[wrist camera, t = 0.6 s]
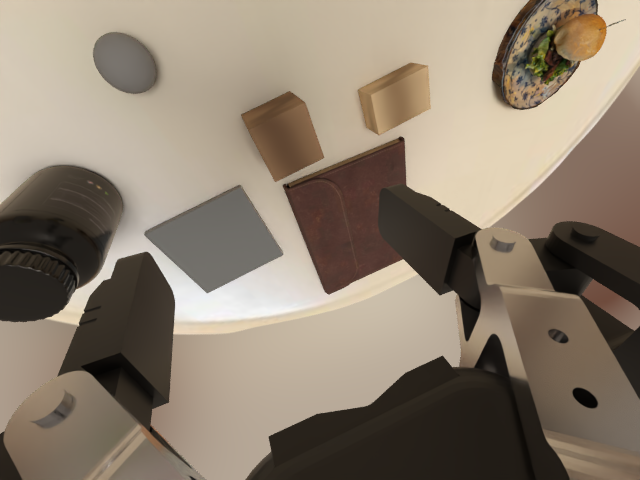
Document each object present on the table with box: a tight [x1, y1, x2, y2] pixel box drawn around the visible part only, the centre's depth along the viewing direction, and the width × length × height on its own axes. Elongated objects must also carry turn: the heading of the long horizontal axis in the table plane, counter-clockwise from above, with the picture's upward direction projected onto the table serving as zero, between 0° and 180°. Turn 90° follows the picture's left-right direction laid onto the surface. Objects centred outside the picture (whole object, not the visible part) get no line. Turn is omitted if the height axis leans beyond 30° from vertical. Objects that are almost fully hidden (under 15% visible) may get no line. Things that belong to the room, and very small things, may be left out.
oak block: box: [358, 63, 431, 135], centre depth 28 cm, size 6×4×3 cm, turn 111°
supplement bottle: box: [0, 166, 123, 322], centre depth 20 cm, size 7×7×12 cm
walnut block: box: [241, 91, 324, 182], centre depth 25 cm, size 5×5×5 cm
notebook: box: [283, 137, 406, 294], centre depth 37 cm, size 15×20×2 cm
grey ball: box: [93, 32, 156, 94], centre depth 19 cm, size 4×4×4 cm
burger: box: [492, 0, 626, 110], centre depth 29 cm, size 12×12×8 cm
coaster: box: [144, 185, 283, 293], centre depth 32 cm, size 11×11×1 cm
